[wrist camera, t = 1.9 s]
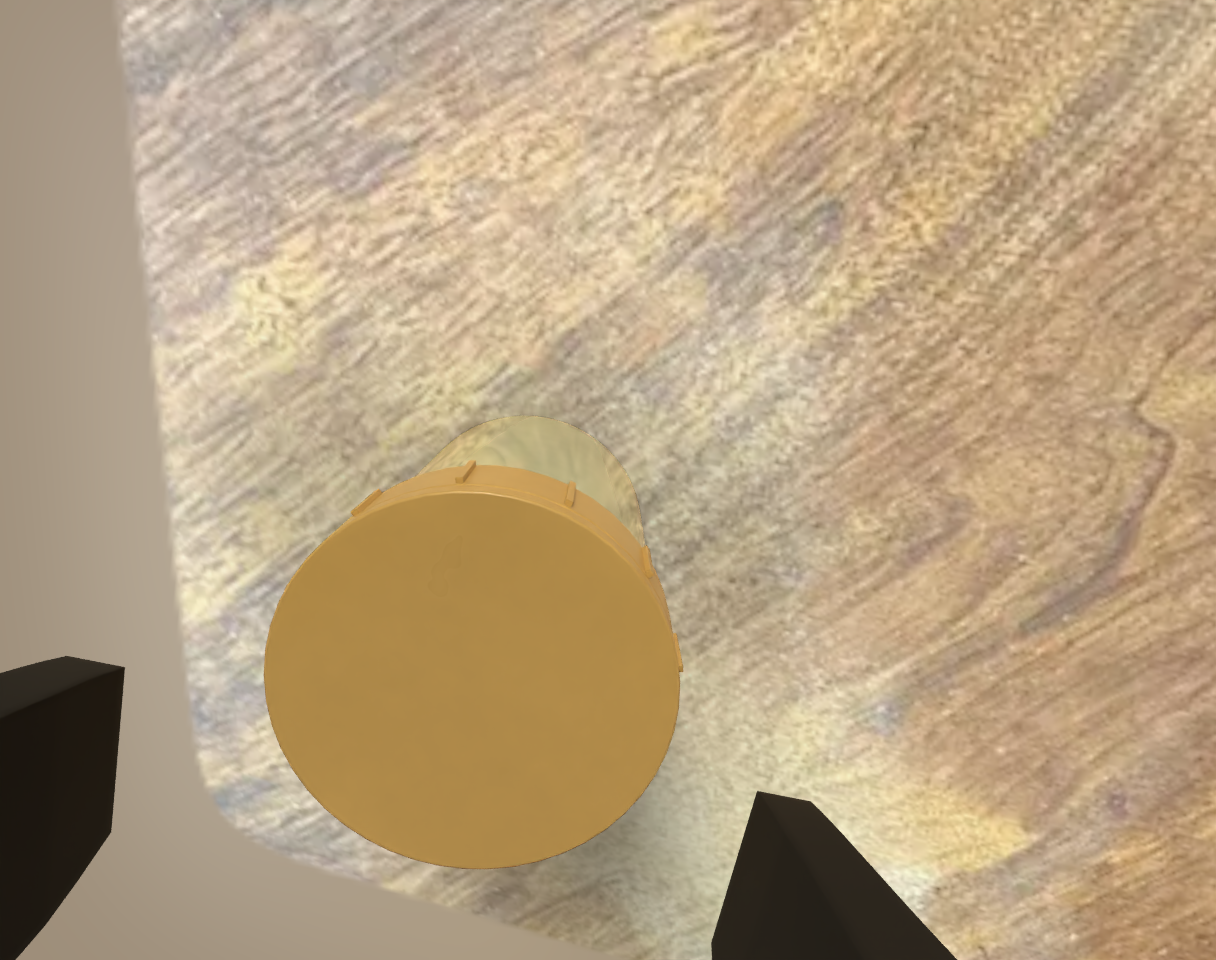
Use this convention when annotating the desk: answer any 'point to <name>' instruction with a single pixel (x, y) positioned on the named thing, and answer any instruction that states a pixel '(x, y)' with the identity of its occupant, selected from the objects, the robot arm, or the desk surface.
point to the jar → (549, 460)
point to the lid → (475, 668)
